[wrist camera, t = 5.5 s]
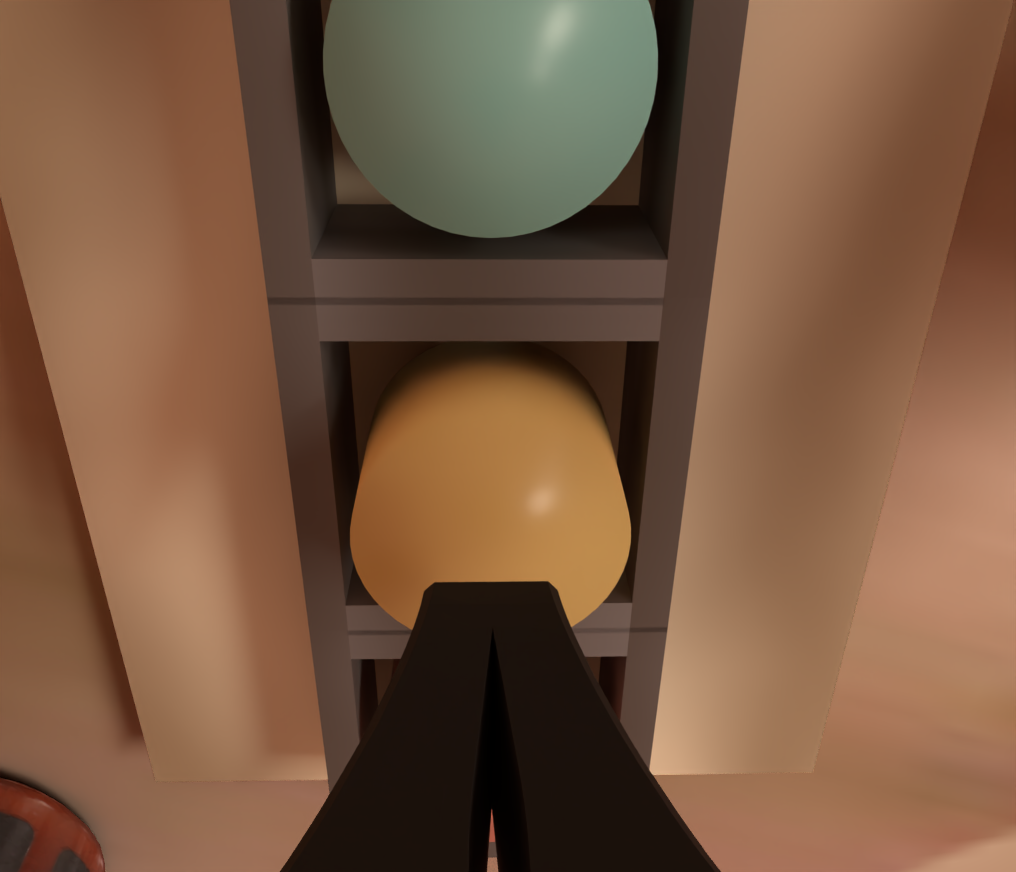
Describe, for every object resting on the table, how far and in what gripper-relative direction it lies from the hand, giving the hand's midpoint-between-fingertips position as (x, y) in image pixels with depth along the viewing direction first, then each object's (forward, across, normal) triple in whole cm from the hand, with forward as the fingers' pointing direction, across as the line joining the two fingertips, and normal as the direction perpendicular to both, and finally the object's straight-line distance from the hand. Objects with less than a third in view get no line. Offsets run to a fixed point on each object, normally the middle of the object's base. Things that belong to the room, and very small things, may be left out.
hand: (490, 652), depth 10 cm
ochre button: (+5, 0, 0) cm, 5 cm away
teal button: (+6, 0, -5) cm, 8 cm away
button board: (+7, 0, -1) cm, 7 cm away
